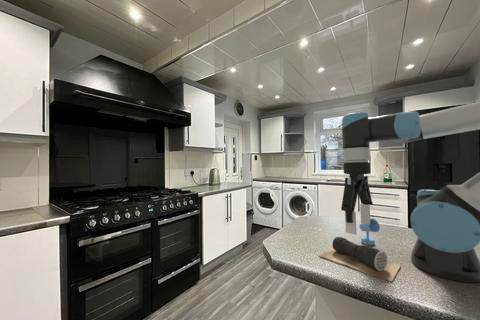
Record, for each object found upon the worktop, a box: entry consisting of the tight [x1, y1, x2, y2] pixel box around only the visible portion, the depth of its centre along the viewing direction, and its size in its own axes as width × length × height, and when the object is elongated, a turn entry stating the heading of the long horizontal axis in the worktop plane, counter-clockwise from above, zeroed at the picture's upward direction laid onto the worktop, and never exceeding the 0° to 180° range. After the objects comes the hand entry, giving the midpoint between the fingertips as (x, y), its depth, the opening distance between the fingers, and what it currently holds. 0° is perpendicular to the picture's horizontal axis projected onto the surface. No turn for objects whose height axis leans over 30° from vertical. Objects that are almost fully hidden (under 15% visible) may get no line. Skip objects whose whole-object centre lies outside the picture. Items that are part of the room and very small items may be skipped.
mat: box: [318, 246, 402, 283], centre depth 65 cm, size 20×12×1 cm, turn 42°
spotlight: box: [359, 218, 381, 246], centre depth 79 cm, size 5×10×7 cm
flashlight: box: [332, 236, 388, 271], centre depth 65 cm, size 15×5×5 cm, turn 25°
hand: (358, 228), depth 64 cm, fingers open, 13 cm apart
